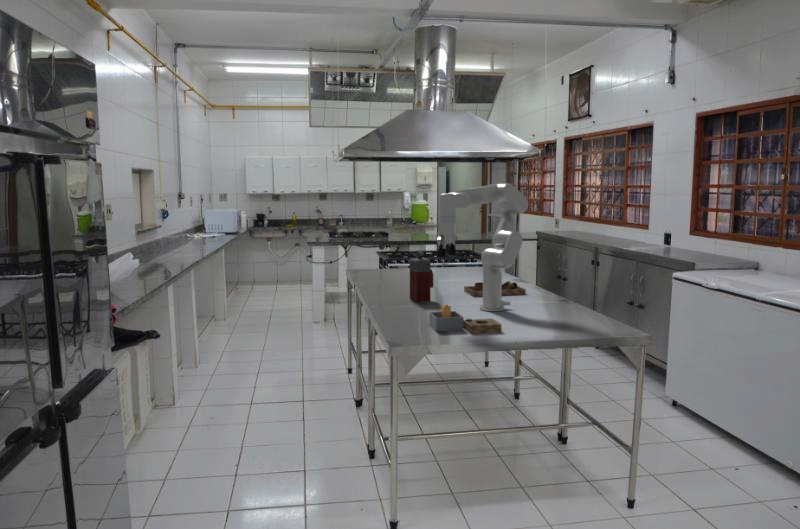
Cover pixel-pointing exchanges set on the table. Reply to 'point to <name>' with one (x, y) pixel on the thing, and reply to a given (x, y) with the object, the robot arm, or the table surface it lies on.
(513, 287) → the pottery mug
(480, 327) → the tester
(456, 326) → the bin
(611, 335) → the table surface
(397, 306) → the table surface
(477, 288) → the cup and saucer
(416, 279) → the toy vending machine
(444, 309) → the cylinder
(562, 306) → the table surface
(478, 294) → the serving frame
